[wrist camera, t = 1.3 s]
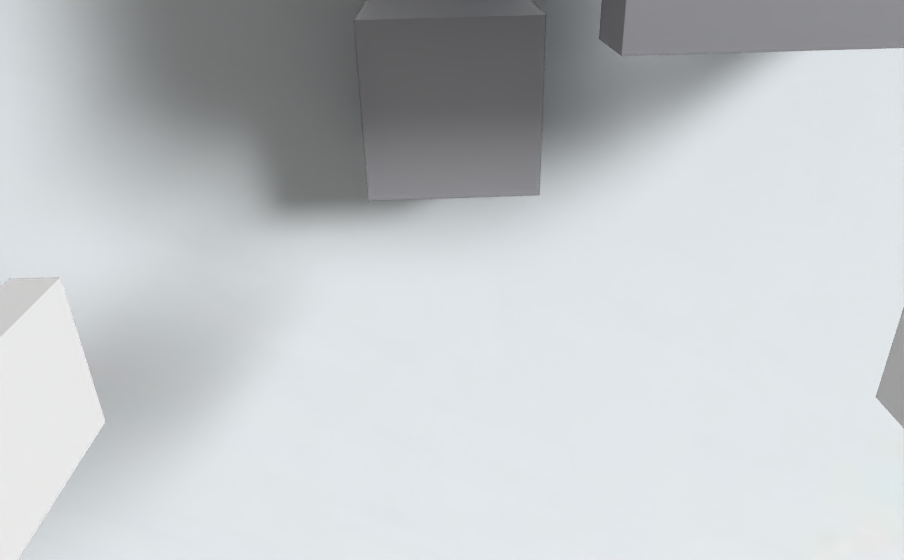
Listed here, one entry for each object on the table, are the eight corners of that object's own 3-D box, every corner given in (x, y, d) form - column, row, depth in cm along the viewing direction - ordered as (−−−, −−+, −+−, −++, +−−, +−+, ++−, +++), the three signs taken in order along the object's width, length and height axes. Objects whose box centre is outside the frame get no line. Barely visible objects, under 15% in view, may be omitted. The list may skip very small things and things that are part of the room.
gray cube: (378, 149, 30) (368, 200, 25) (367, -2, 28) (353, 19, 22) (519, 144, 30) (539, 195, 25) (523, -7, 28) (546, 14, 22)
